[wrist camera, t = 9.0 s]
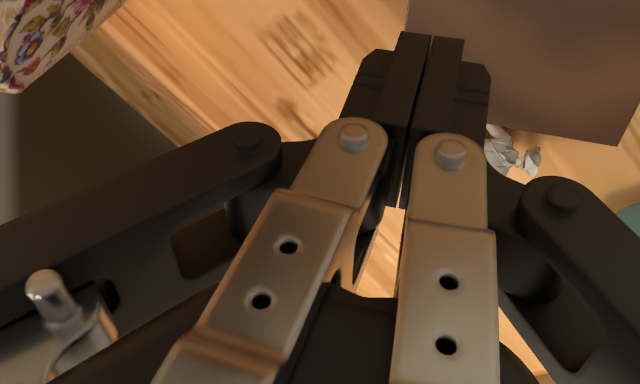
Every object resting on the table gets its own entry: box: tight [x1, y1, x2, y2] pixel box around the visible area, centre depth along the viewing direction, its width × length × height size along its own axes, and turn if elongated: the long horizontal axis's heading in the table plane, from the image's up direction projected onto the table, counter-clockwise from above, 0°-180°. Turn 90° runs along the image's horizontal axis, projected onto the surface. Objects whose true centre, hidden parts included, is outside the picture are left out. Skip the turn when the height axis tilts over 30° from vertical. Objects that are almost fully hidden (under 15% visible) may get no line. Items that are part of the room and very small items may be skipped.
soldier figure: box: [484, 124, 541, 178], centre depth 42 cm, size 8×5×12 cm
